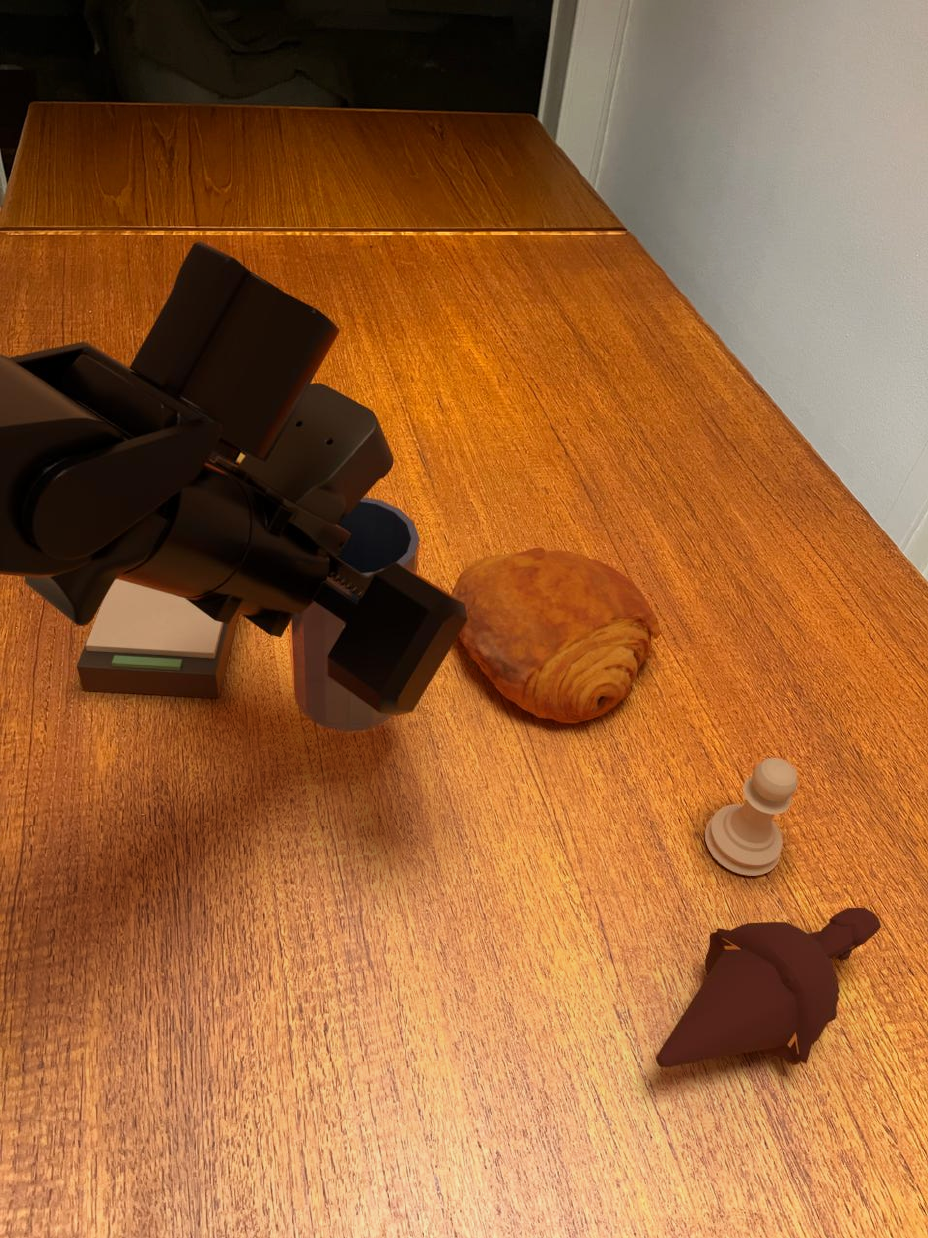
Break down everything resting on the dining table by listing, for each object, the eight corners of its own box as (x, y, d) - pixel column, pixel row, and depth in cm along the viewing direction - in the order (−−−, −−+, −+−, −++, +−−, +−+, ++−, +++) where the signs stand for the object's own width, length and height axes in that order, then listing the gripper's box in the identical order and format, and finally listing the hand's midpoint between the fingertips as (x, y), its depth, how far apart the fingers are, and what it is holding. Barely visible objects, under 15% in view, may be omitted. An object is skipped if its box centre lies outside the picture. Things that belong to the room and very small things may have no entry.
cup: (330, 749, 56) (330, 596, 48) (272, 674, 60) (262, 520, 51) (428, 701, 59) (444, 550, 51) (367, 633, 63) (373, 482, 55)
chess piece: (777, 887, 59) (823, 811, 53) (700, 866, 59) (737, 788, 54) (780, 825, 62) (823, 747, 57) (706, 805, 63) (742, 725, 57)
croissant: (506, 770, 66) (526, 706, 60) (417, 600, 74) (427, 528, 68) (682, 708, 71) (718, 644, 65) (581, 555, 79) (604, 485, 73)
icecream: (743, 1127, 42) (939, 972, 50) (647, 971, 45) (847, 847, 53) (670, 1149, 48) (857, 1007, 55) (589, 1009, 51) (777, 891, 58)
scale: (82, 691, 65) (74, 660, 63) (117, 599, 71) (110, 568, 69) (218, 698, 66) (214, 668, 63) (240, 607, 72) (237, 577, 70)
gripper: (460, 461, 37) (574, 552, 51) (150, 289, 45) (323, 410, 59) (314, 708, 38) (466, 731, 52) (33, 498, 46) (232, 568, 60)
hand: (368, 598), depth 56 cm, fingers closed on cup, 7 cm apart
